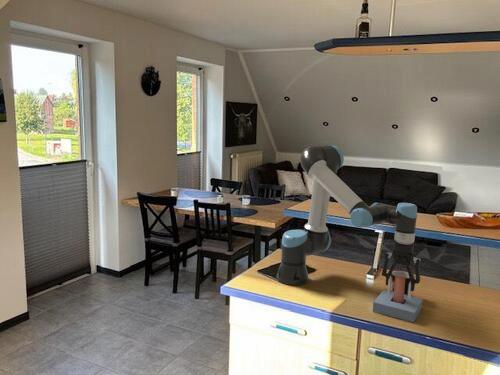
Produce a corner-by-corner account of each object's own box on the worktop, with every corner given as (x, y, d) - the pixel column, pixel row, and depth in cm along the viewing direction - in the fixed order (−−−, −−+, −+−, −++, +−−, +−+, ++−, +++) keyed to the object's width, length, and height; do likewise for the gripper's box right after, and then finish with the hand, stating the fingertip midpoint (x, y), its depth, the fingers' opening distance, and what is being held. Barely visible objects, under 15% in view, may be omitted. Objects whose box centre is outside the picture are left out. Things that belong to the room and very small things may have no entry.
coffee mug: (411, 300, 182) (414, 278, 180) (391, 298, 183) (393, 276, 182) (407, 290, 193) (409, 269, 191) (387, 288, 195) (389, 267, 193)
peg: (391, 309, 172) (393, 277, 170) (393, 306, 176) (396, 274, 174) (401, 312, 170) (404, 279, 168) (403, 308, 174) (406, 276, 171)
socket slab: (372, 311, 171) (373, 302, 170) (383, 297, 184) (384, 289, 183) (413, 322, 162) (414, 312, 161) (421, 307, 175) (422, 298, 175)
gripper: (376, 239, 170) (371, 292, 174) (429, 248, 160) (423, 305, 164) (381, 235, 177) (376, 286, 180) (432, 244, 166) (426, 298, 170)
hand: (398, 295), depth 172 cm, fingers open, 7 cm apart
